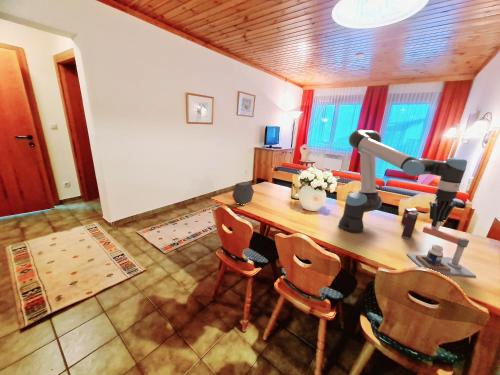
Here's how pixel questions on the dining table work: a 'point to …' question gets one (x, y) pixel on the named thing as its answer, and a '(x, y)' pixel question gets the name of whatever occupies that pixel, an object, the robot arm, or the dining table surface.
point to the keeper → (446, 236)
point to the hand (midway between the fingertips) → (433, 231)
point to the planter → (243, 193)
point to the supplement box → (409, 224)
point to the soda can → (406, 214)
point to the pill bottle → (434, 255)
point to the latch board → (444, 264)
